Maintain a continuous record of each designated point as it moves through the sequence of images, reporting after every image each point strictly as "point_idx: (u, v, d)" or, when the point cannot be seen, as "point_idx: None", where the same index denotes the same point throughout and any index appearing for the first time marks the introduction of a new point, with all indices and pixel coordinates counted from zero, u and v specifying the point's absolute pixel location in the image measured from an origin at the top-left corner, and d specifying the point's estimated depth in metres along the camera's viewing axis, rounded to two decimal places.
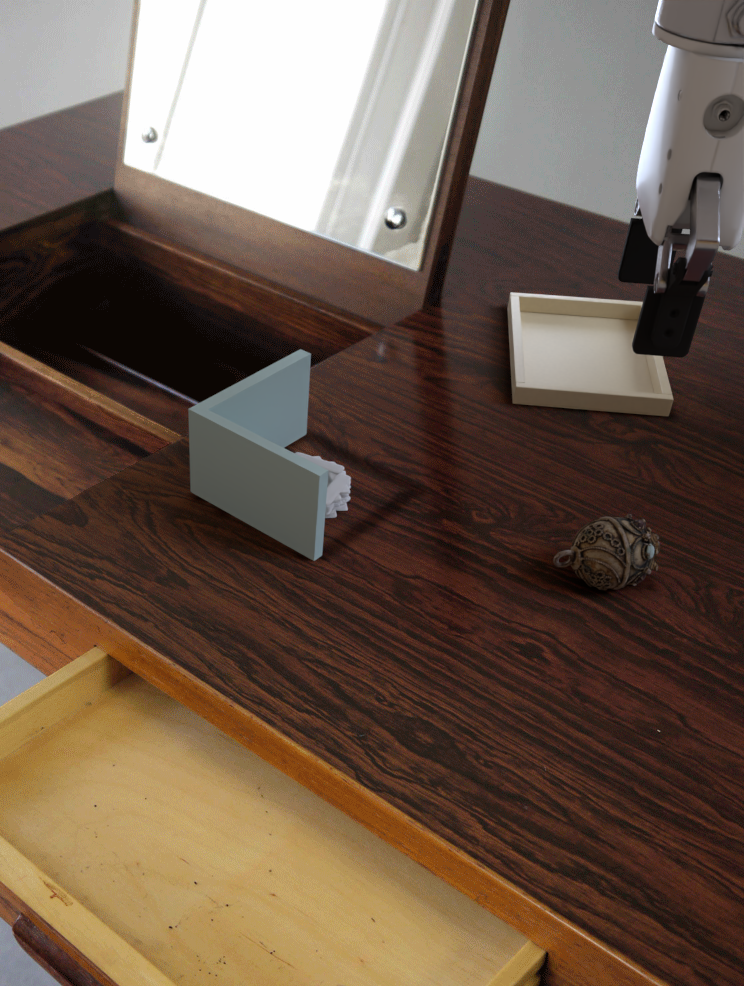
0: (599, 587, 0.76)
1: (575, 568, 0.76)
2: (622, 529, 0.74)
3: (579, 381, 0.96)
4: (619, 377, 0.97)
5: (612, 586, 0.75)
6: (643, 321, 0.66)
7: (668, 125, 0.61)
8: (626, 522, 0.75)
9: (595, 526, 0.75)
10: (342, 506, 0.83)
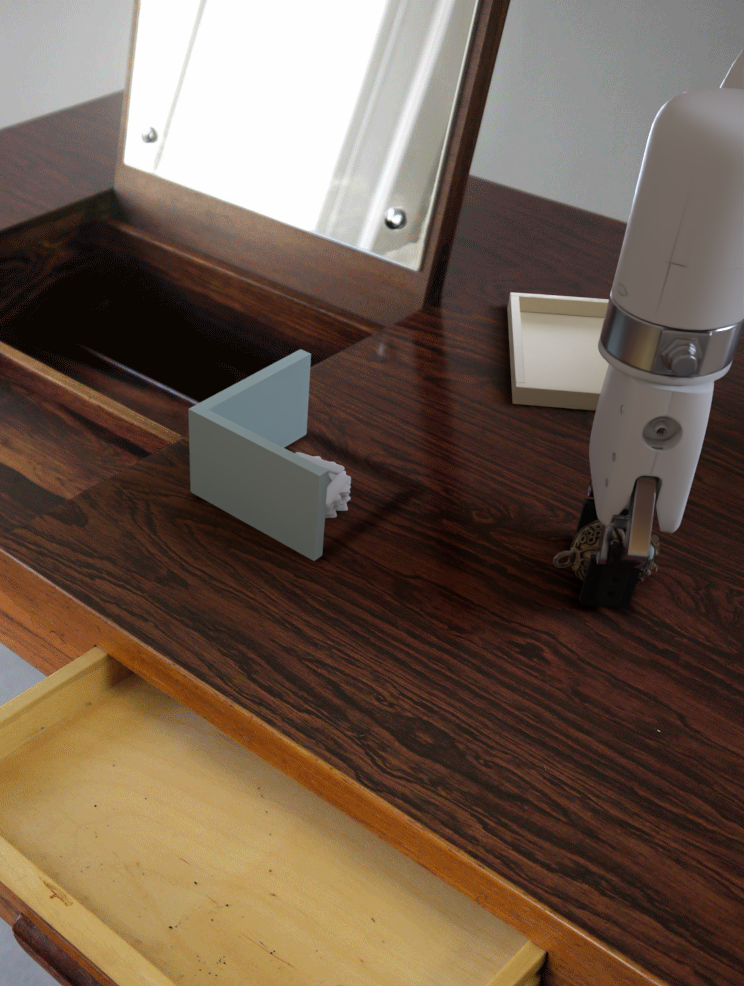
0: None
1: (575, 569, 0.76)
2: (622, 530, 0.74)
3: (579, 381, 0.96)
4: None
5: None
6: (588, 582, 0.74)
7: (612, 430, 0.67)
8: None
9: (595, 527, 0.75)
10: (342, 506, 0.83)
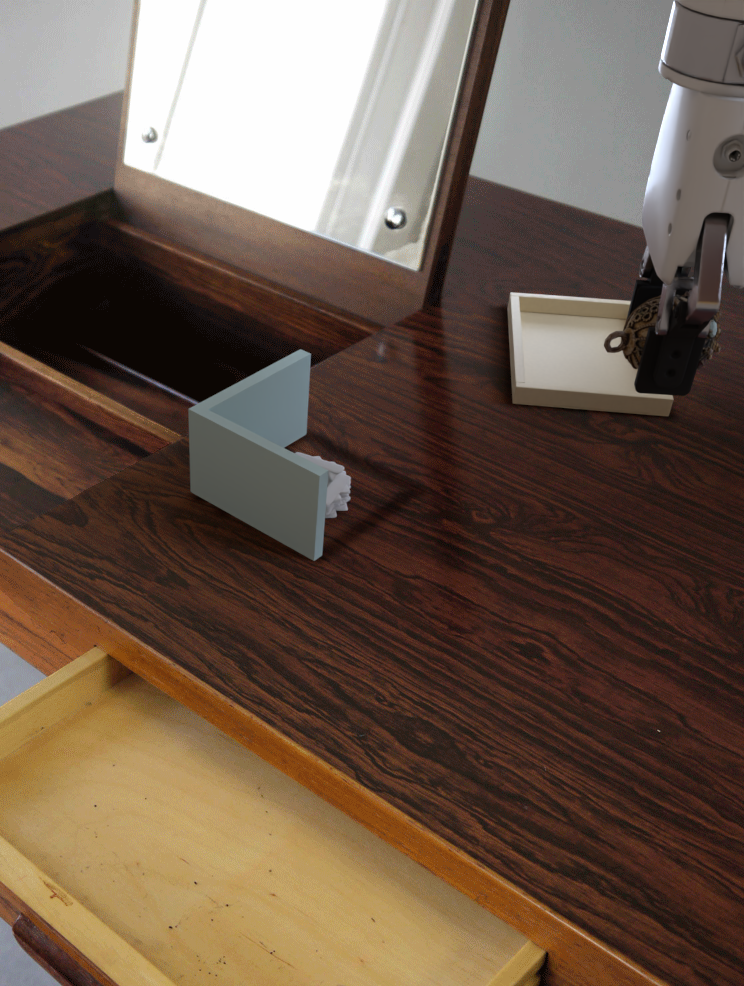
0: None
1: (628, 353, 0.68)
2: None
3: (579, 381, 0.96)
4: (619, 377, 0.97)
5: None
6: (645, 361, 0.67)
7: (677, 165, 0.59)
8: (684, 299, 0.68)
9: (650, 303, 0.67)
10: (342, 506, 0.83)
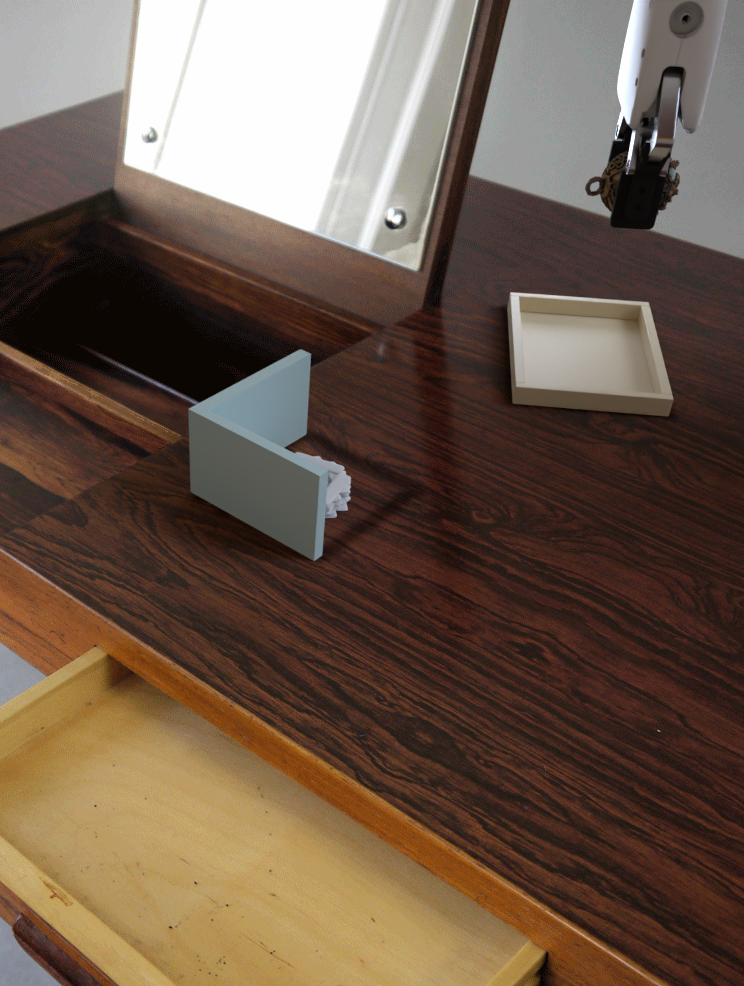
0: None
1: (605, 195, 0.85)
2: None
3: (579, 381, 0.96)
4: (619, 377, 0.97)
5: None
6: (618, 199, 0.83)
7: (642, 30, 0.76)
8: None
9: (622, 154, 0.84)
10: (342, 506, 0.83)
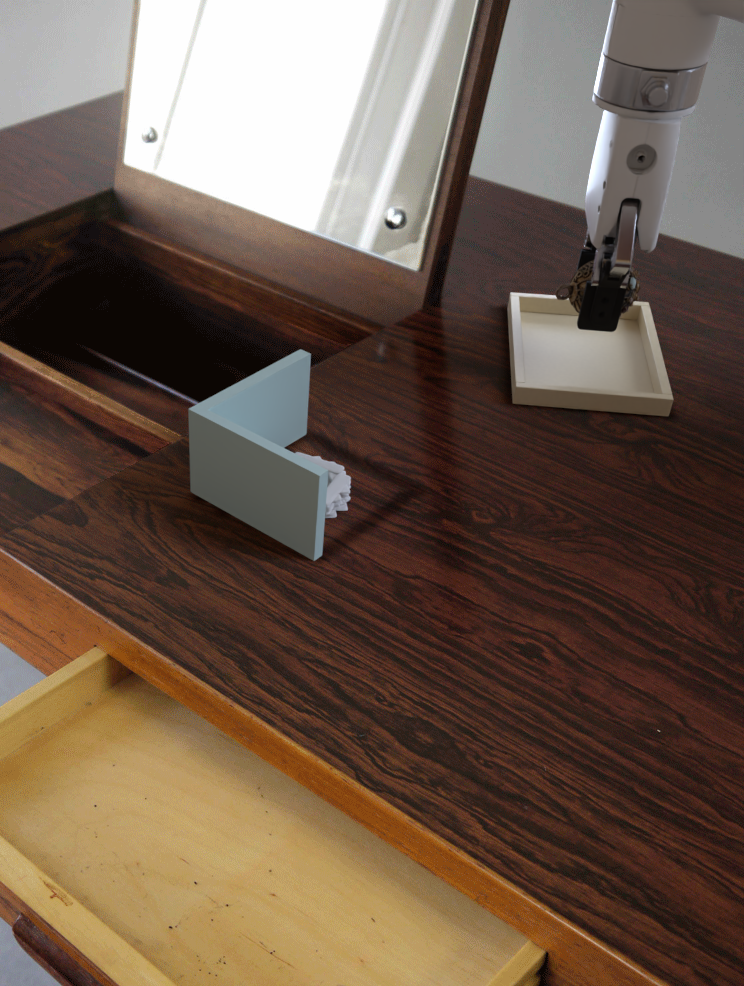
0: None
1: (573, 300, 0.95)
2: None
3: (579, 381, 0.96)
4: (619, 377, 0.97)
5: None
6: (584, 306, 0.93)
7: (603, 164, 0.86)
8: None
9: (589, 264, 0.94)
10: (342, 506, 0.83)
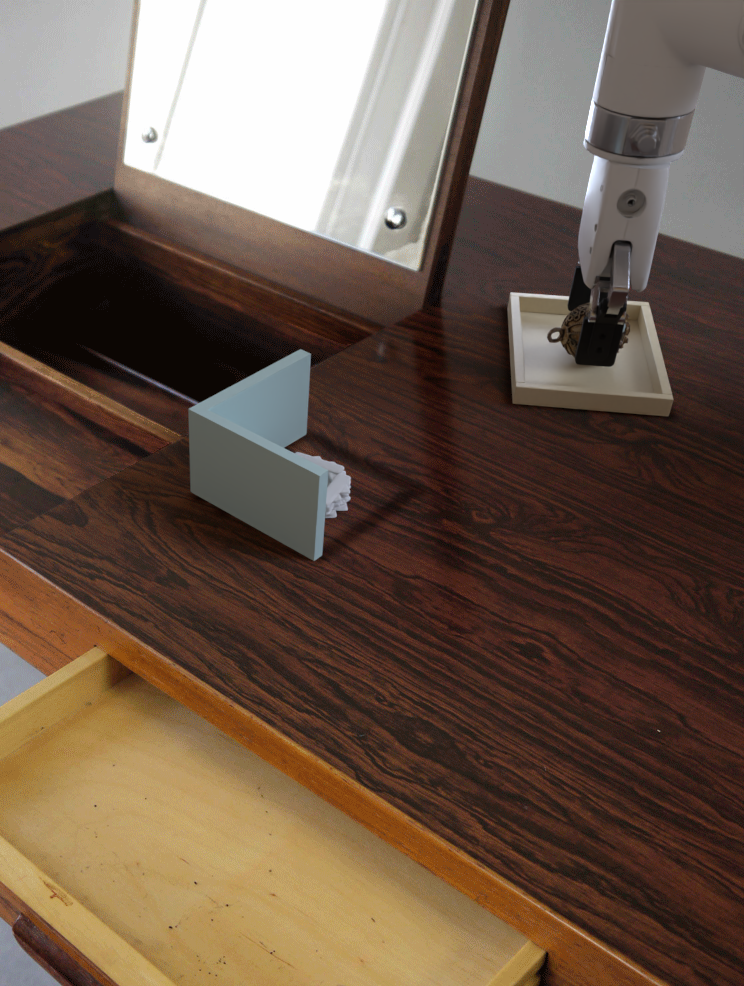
0: None
1: (564, 343, 0.97)
2: None
3: (579, 381, 0.96)
4: (619, 377, 0.97)
5: None
6: (582, 341, 0.93)
7: (595, 207, 0.88)
8: None
9: (579, 308, 0.96)
10: (342, 506, 0.83)
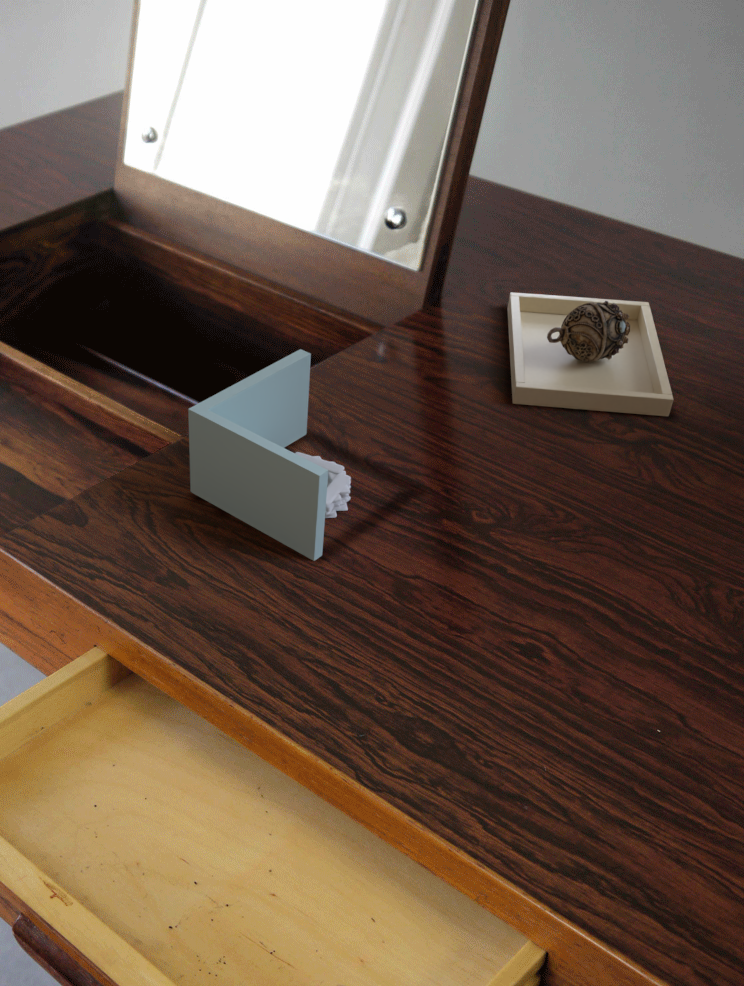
0: (583, 357, 0.97)
1: (564, 343, 0.97)
2: (600, 309, 0.96)
3: (579, 381, 0.96)
4: (619, 377, 0.97)
5: (593, 356, 0.97)
6: None
7: None
8: (603, 305, 0.97)
9: (579, 308, 0.96)
10: (342, 506, 0.83)
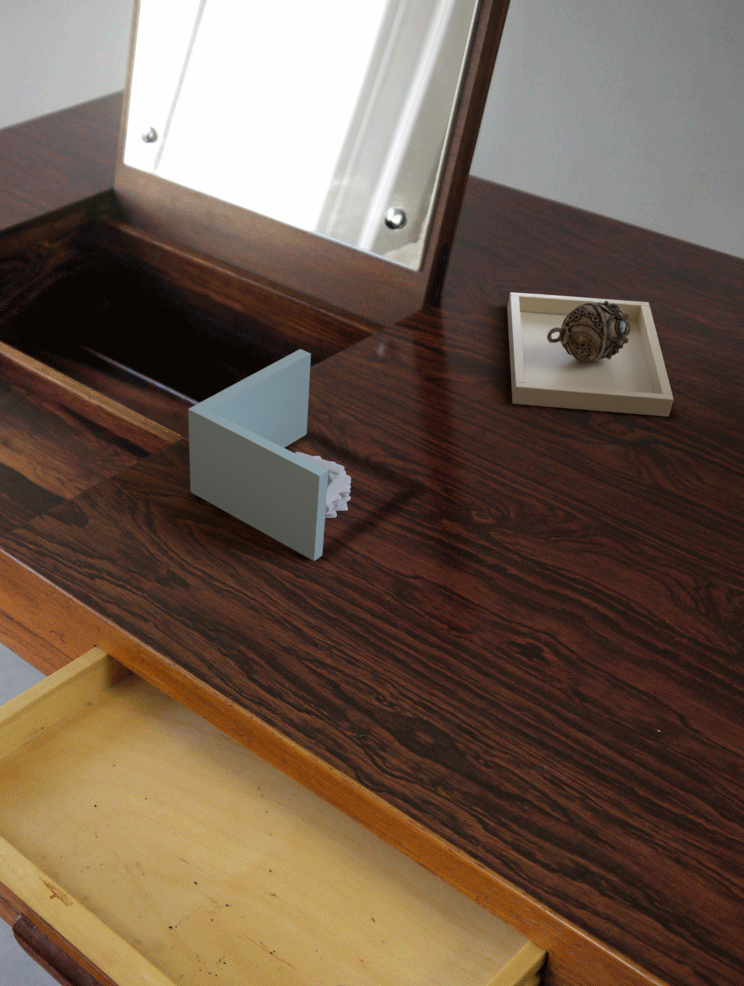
0: (583, 357, 0.97)
1: (564, 343, 0.97)
2: (600, 309, 0.96)
3: (579, 381, 0.96)
4: (619, 377, 0.97)
5: (593, 356, 0.97)
6: None
7: None
8: (603, 305, 0.97)
9: (579, 308, 0.96)
10: (342, 506, 0.83)
